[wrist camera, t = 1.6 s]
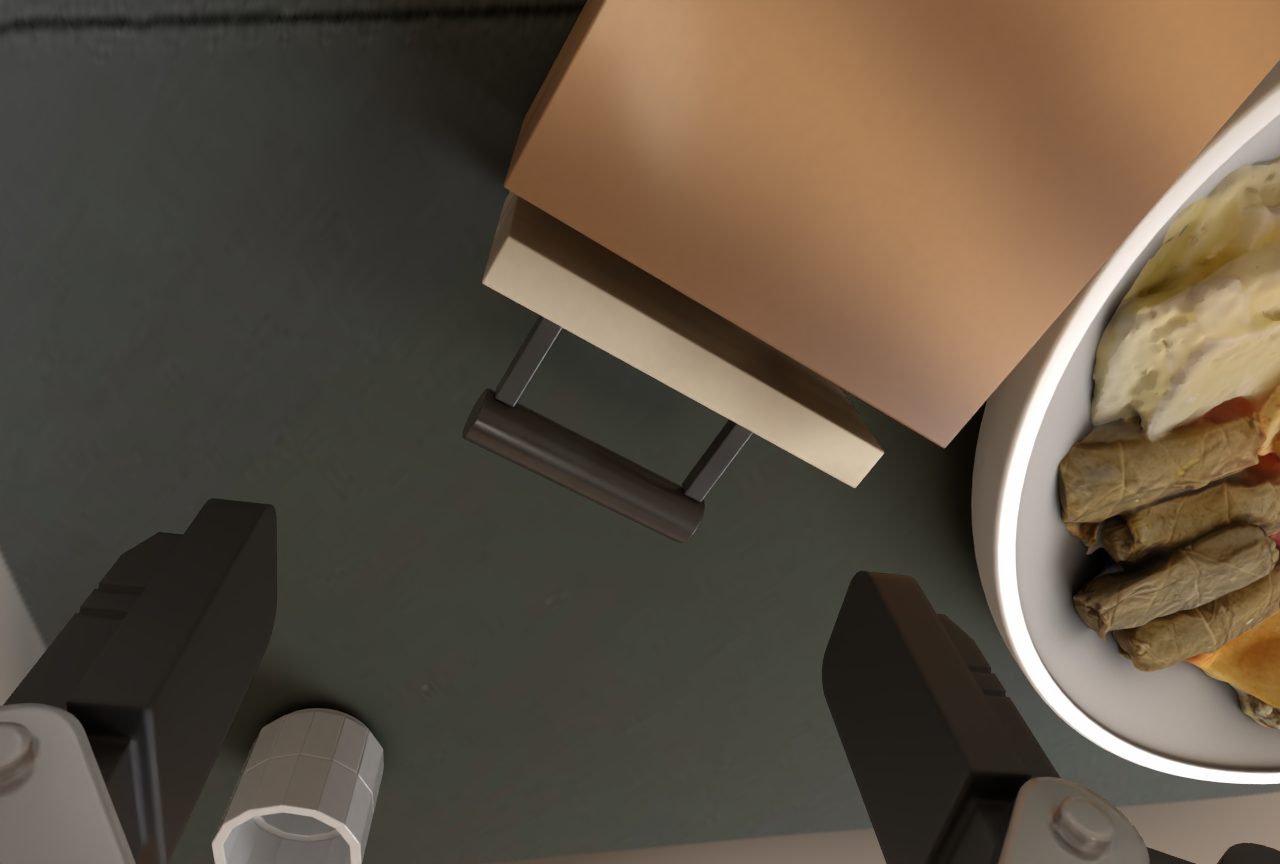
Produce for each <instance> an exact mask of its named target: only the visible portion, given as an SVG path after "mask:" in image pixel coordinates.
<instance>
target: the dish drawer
mask: <svg viewBox="0 0 1280 864" xmlns="http://www.w3.org/2000/svg"><path fill="white" fill-rule="evenodd" d="M482 283H483V284H484V285H486V286H488V287H490V288H492V289H493V290H495V291H497V292H499V293H501V294H503V295H504V296H506V297H508V298H510V299H512V300H513V301H515V302H517V303H519V304H521V305H523V306H524V307H526V308H528V309H530V310H532V311H533V312H535V313H537V314H539V315H540V316H539V318H538V319H537V321H536V323H535V324H534V326H533V328H532V329H531V331H530V333H529V334H528V336H527V338H526V339H525V341H524V343H523V344H522V346H521V348H520V349H519V351H518V353H517V354H516V356H515V358H514V359H513V361H512V363H511V364H510V366H509V368H508V369H507V371H506V373H505V374H504V376H503V378H502V379H501V381H500V383H499V384H498V386H497V388H496V392H495V391H493V390H491V389H486V390H485V391H484V392H483V393H482V394H481V396H480V397H479V399H478V400H477V402H476V404H475V406H474V407H473V409H472V411H471V413H470V415H469V417H468V420H467V422H466V424H465V427H464V430H463V434H462V437H463V438H464V439H466V440H468V441H470V442H472V443H474V444H476V445H478V446H480V447H482V448H484V449H486V450H488V451H490V452H492V453H494V454H496V455H499V456H501V457H503V458H505V459H507V460H509V461H511V462H513V463H515V464H517V465H519V466H521V467H523V468H525V469H527V470H529V471H532V472H534V473H536V474H538V475H540V476H542V477H544V478H546V479H548V480H550V481H552V482H554V483H556V484H558V485H560V486H562V487H565V488H567V489H569V490H571V491H573V492H575V493H577V494H579V495H581V496H583V497H585V498H587V499H589V500H591V501H593V502H596V503H598V504H600V505H602V506H604V507H606V508H608V509H610V510H612V511H614V512H616V513H618V514H620V515H622V516H624V517H626V518H629V519H631V520H633V521H635V522H637V523H639V524H641V525H643V526H645V527H647V528H649V529H651V530H653V531H655V532H657V533H659V534H662V535H664V536H666V537H668V538H670V539H672V540H674V541H676V542H678V543H684V542H686V541H687V540H688V539H690V538H691V537H692V535H693V534H694V533H695V531H696V530H697V528H698V526H699V524H700V522H701V520H702V517H703V514H704V508H705V503H704V498H705V496H706V495H707V494H708V492H709V491H710V490H711V488H712V487H713V486H714V484H715V483H716V482H717V480H718V479H719V478H720V476H721V475H722V474H723V472H724V471H725V470H726V468H727V467H728V466H729V464H730V463H731V462H732V460H733V459H734V458H735V456H736V455H737V454H738V452H739V451H740V450H741V448H742V447H743V446H744V444H745V443H746V442H747V440H748V439H749V438H750V436H751V435H752V434H753V433H755V434H757V435H759V436H760V437H762V438H764V439H766V440H768V441H770V442H771V443H773V444H775V445H777V446H779V447H780V448H782V449H784V450H786V451H788V452H790V453H791V454H793V455H795V456H797V457H799V458H800V459H802V460H804V461H806V462H808V463H809V464H811V465H813V466H815V467H817V468H819V469H820V470H822V471H824V472H826V473H828V474H829V475H831V476H833V477H835V478H837V479H839V480H840V481H842V482H844V483H846V484H848V485H849V486H851V487H853V488H856V487H857V485H858V484H859V483H860V482H861V481H862V479H863V478H864V477H865V476H866V475H867V473H868V472H869V471H870V470H871V469H872V467H873V466H874V465H875V464H876V463H877V461H878V460H879V459H880V458H881V457H882V455H883V454H884V451H883V450H882V448H881V447H880V445H879V444H878V443H877V441H876V440H875V438H874V437H873V435H872V434H871V433H870V431H869V430H868V428H867V427H866V425H865V424H864V423H863V421H862V420H861V418H860V417H859V415H858V414H857V413H856V411H855V410H854V408H853V407H852V405H851V404H850V403H849V401H848V400H847V398H846V397H845V395H844V394H843V393H842V391H841V390H840V388H839V387H838V385H836V384H834V383H833V382H831V381H829V380H828V379H826V378H824V377H822V376H821V375H819V374H817V373H816V372H814V371H812V370H811V369H809V368H807V367H806V366H804V365H802V364H801V363H799V362H797V361H796V360H794V359H792V358H791V357H789V356H787V355H785V354H784V353H782V352H780V351H779V350H777V349H775V348H774V347H772V346H770V345H769V344H767V343H765V342H764V341H762V340H760V339H759V338H757V337H755V336H754V335H752V334H750V333H748V332H747V331H745V330H743V329H742V328H740V327H738V326H737V325H735V324H733V323H732V322H730V321H728V320H727V319H725V318H723V317H722V316H720V315H718V314H716V313H715V312H713V311H711V310H710V309H708V308H706V307H705V306H703V305H701V304H700V303H698V302H696V301H695V300H693V299H691V298H690V297H688V296H686V295H685V294H683V293H681V292H679V291H678V290H676V289H674V288H673V287H671V286H669V285H668V284H666V283H664V282H663V281H661V280H659V279H658V278H656V277H654V276H653V275H651V274H649V273H648V272H646V271H644V270H642V269H641V268H639V267H637V266H636V265H634V264H632V263H631V262H629V261H627V260H626V259H624V258H622V257H621V256H619V255H617V254H616V253H614V252H612V251H610V250H609V249H607V248H605V247H604V246H602V245H600V244H599V243H597V242H595V241H594V240H592V239H590V238H589V237H587V236H585V235H584V234H582V233H580V232H579V231H577V230H575V229H573V228H572V227H570V226H568V225H567V224H565V223H563V222H562V221H560V220H558V219H557V218H555V217H553V216H552V215H550V214H548V213H547V212H545V211H543V210H542V209H540V208H538V207H536V206H535V205H533V204H531V203H530V202H528V201H526V200H525V199H523V198H521V197H520V196H518V195H516V194H515V193H513V192H511V191H510V192H509V194H508V196H507V198H506V200H505V201H504V205H503V208H502V212H501V215H500V219H499V223H498V226H497V230H496V233H495V237H494V241H493V244H492V248H491V251H490V255H489V259H488V262H487V266H486V269H485V273H484V276H483V280H482ZM563 328H564V329H566V330H568V331H570V332H572V333H573V334H575V335H577V336H579V337H581V338H582V339H584V340H586V341H588V342H590V343H592V344H593V345H595V346H597V347H599V348H601V349H602V350H604V351H606V352H608V353H610V354H612V355H613V356H615V357H617V358H619V359H621V360H622V361H624V362H626V363H628V364H630V365H631V366H633V367H635V368H637V369H639V370H641V371H642V372H644V373H646V374H648V375H650V376H651V377H653V378H655V379H657V380H659V381H661V382H662V383H664V384H666V385H668V386H670V387H671V388H673V389H675V390H677V391H679V392H681V393H682V394H684V395H686V396H688V397H690V398H691V399H693V400H695V401H697V402H699V403H701V404H702V405H704V406H706V407H708V408H710V409H711V410H713V411H715V412H717V413H719V414H720V415H722V416H724V417H726V418H728V419H729V420H728V422H727V423H726V424H725V426H724V427H723V429H722V430H721V431H720V433H719V434H718V435H717V437H716V438H715V440H714V441H713V442H712V444H711V445H710V446H709V448H708V449H707V450H706V452H705V453H704V455H703V456H702V457H701V459H700V460H699V461H698V463H697V464H696V465H695V467H694V468H693V470H692V471H691V472H690V474H689V475H688V476H687V478H686V479H685V480H684V482H683V483H682V486H680V485H678V484H676V483H674V482H672V481H670V480H668V479H666V478H664V477H662V476H660V475H658V474H656V473H654V472H652V471H650V470H648V469H646V468H644V467H642V466H640V465H638V464H636V463H634V462H632V461H631V460H629V459H627V458H625V457H623V456H621V455H619V454H617V453H615V452H613V451H611V450H609V449H607V448H605V447H603V446H601V445H599V444H597V443H595V442H593V441H591V440H589V439H587V438H585V437H583V436H581V435H580V434H578V433H576V432H574V431H572V430H570V429H568V428H566V427H564V426H562V425H560V424H558V423H556V422H554V421H552V420H550V419H548V418H546V417H544V416H542V415H540V414H538V413H536V412H534V411H532V410H530V409H529V408H527V407H525V406H523V405H521V404H519V403H517V402H518V401H519V399H520V397H521V396H522V394H523V393H524V391H525V389H526V388H527V386H528V384H529V383H530V381H531V380H532V378H533V376H534V375H535V373H536V371H537V370H538V368H539V366H540V365H541V363H542V362H543V360H544V358H545V357H546V355H547V353H548V352H549V350H550V349H551V347H552V345H553V344H554V342H555V340H556V339H557V337H558V336H559V334H560V332H561V331H562V329H563Z"/></svg>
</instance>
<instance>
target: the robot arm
mask: <svg viewBox="0 0 1280 864" xmlns="http://www.w3.org/2000/svg"><path fill="white" fill-rule="evenodd" d="M276 606H277V522H276V512H275V508H274V506H273V505H270V504H261V503H251V502H242V501H233V500H224V499H215V498H212V499H209V500H208V501H207V502H206V503H205V505H204V506H203V508H202V509H201V510H200V512H199V513H198V515H197V516H196V517H195V519H194V520H193V522H192V523H191V525H190V526H189V527H188V529H187V530H186V532H185V533H184V534H183V535H182V534H172V533H162V532H158V533H157V534H155V535H153V536H152V537H150V538H149V539H147V540H145V541H144V542H142V543H140V544H139V545H137V546H135V547H134V548H132V549H130V550H129V551H127V552H126V553H124V554H122V555H121V556H120V558H119V559H118V560H117V562H116V563H115V564H114V565H113V567H112V568H111V569H110V570H109V572H108V573H107V574H106V575H105V577H104V578H103V579H102V581H101V582H100V583H99V588H98V589H94V591H93V592H92V593H91V594H90V596H89V597H88V598H87V600H86V601H85V602H84V603H83V605H82V606H81V607H80V612H79V614H76V613H75V615H74V616H73V617H72V619H71V620H70V621H69V622H68V624H67V625H66V626H65V627H64V629H63V630H62V631H61V632H60V634H59V635H58V636H57V638H56V639H55V640H54V641H53V643H52V644H51V645H50V646H49V648H48V649H47V650H46V651H45V653H44V654H43V655H42V657H41V658H40V659H39V660H38V662H37V663H36V664H35V665H34V667H33V668H32V669H31V670H30V672H29V673H28V674H27V676H26V677H25V678H24V679H23V681H22V682H21V683H20V685H19V686H18V687H17V688H16V690H15V691H14V692H13V693H12V695H11V696H10V697H9V698H8V700H7V701H6V702H5V704H4V705H3V706H0V864H168V863H169V861H170V859H171V857H172V855H173V852H174V850H175V848H176V846H177V844H178V841H179V839H180V837H181V835H182V833H183V830H184V828H185V826H186V824H187V822H188V819H189V817H190V815H191V813H192V811H193V809H194V806H195V804H196V802H197V800H198V798H199V795H200V793H201V791H202V789H203V787H204V784H205V782H206V780H207V778H208V776H209V773H210V771H211V769H212V767H213V765H214V762H215V760H216V758H217V756H218V754H219V751H220V749H221V747H222V745H223V743H224V740H225V738H226V736H227V734H228V732H229V730H230V727H231V725H232V723H233V721H234V719H235V716H236V714H237V712H238V710H239V708H240V705H241V703H242V701H243V699H244V697H245V694H246V692H247V690H248V688H249V686H250V683H251V681H252V679H253V677H254V675H255V672H256V670H257V668H258V666H259V664H260V662H261V659H262V657H263V655H264V653H265V651H266V648H267V646H268V643H269V640H270V637H271V634H272V630H273V625H274V620H275V614H276ZM822 684H823V690H824V695H825V698H826V701H827V704H828V706H829V709H830V712H831V714H832V717H833V720H834V723H835V725H836V728H837V731H838V733H839V736H840V739H841V741H842V744H843V747H844V750H845V752H846V755H847V758H848V760H849V763H850V766H851V769H852V771H853V774H854V777H855V779H856V782H857V785H858V787H859V790H860V793H861V796H862V798H863V801H864V804H865V806H866V809H867V812H868V815H869V817H870V820H871V823H872V825H873V828H874V831H875V833H876V836H877V839H878V842H879V844H880V847H881V850H882V852H883V855H884V857H885V861H886V863H887V864H1195V863H1192V862H1189V861H1186V860H1183V859H1180V858H1177V857H1174V856H1171V855H1168V854H1165V853H1163V852H1160V851H1157V850H1154V849H1150V848H1148V847H1146V845H1145V843H1144V841H1143V839H1142V837H1141V836H1140V834H1139V833H1138V831H1137V830H1136V828H1135V827H1134V826H1133V825H1132V823H1131V822H1130V821H1129V820H1128V819H1127V818H1126V817H1125V816H1124V815H1123V814H1122V813H1121V812H1120V811H1119V810H1118V809H1117V808H1116V807H1115V806H1113V805H1112V804H1111V803H1110V802H1108V801H1107V800H1106V799H1104V798H1103V797H1101V796H1100V795H1098V794H1097V793H1095V792H1093V791H1091V790H1090V789H1088V788H1086V787H1084V786H1081V785H1079V784H1077V783H1074V782H1071V781H1069V780H1065V779H1061V778H1060V777H1059V775H1058V773H1057V772H1056V770H1055V769H1054V767H1053V765H1052V764H1051V762H1050V761H1049V759H1048V758H1047V756H1046V754H1045V753H1044V751H1043V750H1042V748H1041V746H1040V745H1039V743H1038V742H1037V740H1036V739H1035V737H1034V735H1033V734H1032V732H1031V731H1030V729H1029V727H1028V726H1027V724H1026V723H1025V721H1024V720H1023V718H1022V716H1021V715H1020V713H1019V712H1018V710H1017V708H1016V707H1015V705H1014V704H1013V702H1012V701H1011V699H1010V698H1009V697H1006V696H1005V693H1006V691H1005V689H1004V688H1003V686H1002V685H1001V683H1000V682H999V680H998V678H997V677H996V675H995V674H991V667H990V666H989V664H988V662H987V661H986V659H985V658H984V656H983V655H982V653H981V651H980V650H979V648H978V647H977V645H976V643H975V642H974V640H973V639H971V638H970V637H969V636H968V635H967V634H966V633H965V632H964V631H963V630H961V629H960V628H959V627H958V626H957V625H956V624H955V623H954V622H953V621H951V620H950V619H949V618H948V617H947V616H946V615H944V614H936V613H935V611H934V609H933V608H932V606H931V604H930V603H929V601H928V599H927V598H926V596H925V594H924V593H923V591H922V589H921V588H920V586H919V584H918V583H917V581H916V580H915V579H914V578H913V577H911V576H904V575H895V574H886V573H876V572H867V571H860V572H858V573H856V574H855V576H854V577H853V579H852V580H851V583H850V585H849V588H848V590H847V593H846V596H845V599H844V601H843V604H842V607H841V610H840V612H839V615H838V618H837V621H836V623H835V626H834V629H833V632H832V634H831V637H830V640H829V643H828V645H827V648H826V651H825V654H824V659H823V666H822ZM1217 864H1280V851H1278V850H1275V849H1273V848H1270V847H1266V846H1263V845H1258V844H1253V843H1241V844H1236V845H1234V846H1232V847H1230V848H1229V849H1228V850H1227V851H1226V852H1225V854H1224V855H1223V856H1222V858H1221V859H1220V860H1219V862H1218V863H1217Z"/></svg>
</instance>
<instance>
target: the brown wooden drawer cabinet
mask: <svg viewBox="0 0 1280 864" xmlns="http://www.w3.org/2000/svg"><path fill="white" fill-rule="evenodd" d="M1279 60H1280V0H587V2H586V4H585V6H584V7H583V9H582V11H581V13H580V15H579V17H578V19H577V20H576V22H575V24H574V26H573V28H572V30H571V32H570V33H569V35H568V37H567V39H566V41H565V43H564V45H563V47H562V48H561V50H560V52H559V54H558V56H557V58H556V60H555V61H554V63H553V65H552V67H551V69H550V71H549V73H548V74H547V76H546V78H545V80H544V82H543V84H542V86H541V88H540V89H539V91H538V93H537V95H536V97H535V99H534V101H533V102H532V104H531V106H530V108H529V110H528V112H527V114H526V115H525V117H524V120H523V124H522V127H521V130H520V134H519V137H518V140H517V143H516V147H515V150H514V153H513V157H512V160H511V163H510V166H509V170H508V173H507V176H506V178H505V181H504V187H505V188H506V189H508V190H510V191H511V192H513V193H515V194H516V195H518V196H520V197H521V198H523V199H525V200H526V201H528V202H530V203H531V204H533V205H535V206H536V207H538V208H540V209H542V210H543V211H545V212H547V213H548V214H550V215H552V216H553V217H555V218H557V219H558V220H560V221H562V222H563V223H565V224H567V225H568V226H570V227H572V228H573V229H575V230H577V231H579V232H580V233H582V234H584V235H585V236H587V237H589V238H590V239H592V240H594V241H595V242H597V243H599V244H600V245H602V246H604V247H605V248H607V249H609V250H610V251H612V252H614V253H616V254H617V255H619V256H621V257H622V258H624V259H626V260H627V261H629V262H631V263H632V264H634V265H636V266H637V267H639V268H641V269H642V270H644V271H646V272H648V273H649V274H651V275H653V276H654V277H656V278H658V279H659V280H661V281H663V282H664V283H666V284H668V285H669V286H671V287H673V288H674V289H676V290H678V291H679V292H681V293H683V294H685V295H686V296H688V297H690V298H691V299H693V300H695V301H696V302H698V303H700V304H701V305H703V306H705V307H706V308H708V309H710V310H711V311H713V312H715V313H716V314H718V315H720V316H722V317H723V318H725V319H727V320H728V321H730V322H732V323H733V324H735V325H737V326H738V327H740V328H742V329H743V330H745V331H747V332H748V333H750V334H752V335H754V336H755V337H757V338H759V339H760V340H762V341H764V342H765V343H767V344H769V345H770V346H772V347H774V348H775V349H777V350H779V351H780V352H782V353H784V354H785V355H787V356H789V357H791V358H792V359H794V360H796V361H797V362H799V363H801V364H802V365H804V366H806V367H807V368H809V369H811V370H812V371H814V372H816V373H817V374H819V375H821V376H822V377H824V378H826V379H828V380H829V381H831V382H833V383H834V384H836V385H838V386H839V387H841V388H843V389H844V390H846V391H848V392H849V393H851V394H853V395H854V396H856V397H858V398H860V399H861V400H863V401H865V402H866V403H868V404H870V405H871V406H873V407H875V408H876V409H878V410H880V411H881V412H883V413H885V414H886V415H888V416H890V417H891V418H893V419H895V420H897V421H898V422H900V423H902V424H903V425H905V426H907V427H908V428H910V429H912V430H913V431H915V432H917V433H918V434H920V435H922V436H923V437H925V438H927V439H928V440H930V441H932V442H934V443H935V444H937V445H939V446H940V447H942V448H946V447H947V446H948V444H949V443H950V442H951V441H952V440H953V439H954V437H955V436H956V435H957V434H958V433H959V432H960V430H961V429H962V428H963V427H964V426H965V425H966V423H967V422H968V421H969V420H970V419H971V418H972V416H973V415H974V414H975V413H976V412H977V411H978V410H979V408H980V407H981V406H982V405H983V404H984V403H985V401H986V400H987V399H988V398H989V397H990V396H991V394H992V393H993V392H994V391H995V390H996V389H997V387H998V386H999V385H1000V384H1001V383H1002V382H1003V381H1004V379H1005V378H1006V377H1007V376H1008V375H1009V374H1010V372H1011V371H1012V370H1013V369H1014V368H1015V367H1016V365H1017V364H1018V363H1019V362H1020V361H1021V360H1022V358H1023V357H1024V356H1025V355H1026V354H1027V353H1028V351H1029V350H1030V349H1031V348H1032V347H1033V346H1034V345H1035V343H1036V342H1037V341H1038V340H1039V339H1040V338H1041V336H1042V335H1043V334H1044V333H1045V332H1046V331H1047V329H1048V328H1049V327H1050V326H1051V325H1052V324H1053V322H1054V321H1055V320H1056V319H1057V318H1058V317H1059V315H1060V314H1061V313H1062V312H1063V311H1064V310H1065V309H1066V307H1067V306H1068V305H1069V304H1070V303H1071V302H1072V300H1073V299H1074V298H1075V297H1076V296H1077V295H1078V293H1079V292H1080V291H1081V290H1082V289H1083V288H1084V286H1085V285H1086V284H1087V283H1088V282H1089V281H1090V280H1091V278H1092V277H1093V276H1094V275H1095V274H1096V273H1097V271H1098V270H1099V269H1100V268H1101V267H1102V266H1103V264H1104V263H1105V262H1106V261H1107V260H1108V259H1109V257H1110V256H1111V255H1112V254H1113V253H1114V252H1115V250H1116V249H1117V248H1118V247H1119V246H1120V245H1121V244H1122V242H1123V241H1124V240H1125V239H1126V238H1127V237H1128V235H1129V234H1130V233H1131V232H1132V231H1133V230H1134V228H1135V227H1136V226H1137V225H1138V224H1139V223H1140V221H1141V220H1142V219H1143V218H1144V217H1145V216H1146V215H1147V213H1148V212H1149V211H1150V210H1151V209H1152V208H1153V206H1154V205H1155V204H1156V203H1157V202H1158V201H1159V199H1160V198H1161V197H1162V196H1163V195H1164V194H1165V192H1166V191H1167V190H1168V189H1169V188H1170V187H1171V185H1172V184H1173V183H1174V182H1175V181H1176V180H1177V179H1178V177H1179V176H1180V175H1181V174H1182V173H1183V172H1184V170H1185V169H1186V168H1187V167H1188V166H1189V165H1190V163H1191V162H1192V161H1193V160H1194V159H1195V158H1196V156H1197V155H1198V154H1199V153H1200V152H1201V151H1202V150H1203V148H1204V147H1205V146H1206V145H1207V144H1208V143H1209V141H1210V140H1211V139H1212V138H1213V137H1214V136H1215V134H1216V133H1217V132H1218V131H1219V130H1220V129H1221V127H1222V126H1223V125H1224V124H1225V123H1226V122H1227V120H1228V119H1229V118H1230V117H1231V116H1232V115H1233V114H1234V112H1235V111H1236V110H1237V109H1238V108H1239V107H1240V105H1241V104H1242V103H1243V102H1244V101H1245V100H1246V98H1247V97H1248V96H1249V95H1250V94H1251V93H1252V91H1253V90H1254V89H1255V88H1256V87H1257V86H1258V84H1259V83H1260V82H1261V81H1262V80H1263V79H1264V78H1265V76H1266V75H1267V74H1268V73H1269V72H1270V71H1271V69H1272V68H1273V67H1274V66H1275V65H1276V64H1277V62H1278V61H1279Z"/></svg>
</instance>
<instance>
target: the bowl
mask: <svg viewBox="0 0 1280 864" xmlns="http://www.w3.org/2000/svg"><path fill="white" fill-rule="evenodd" d="M971 509H972V531H973V539H974V548H975V556H976V561H977V566H978V571H979V576H980V580H981V583H982V587H983V590H984V593H985V597H986V600H987V604H988V606H989V609H990V611H991V614H992V616H993V619H994V621H995V623H996V626H997V628H998V630H999V632H1000V634H1001V636H1002V638H1003V640H1004V642H1005V644H1006V646H1007V648H1008V649H1009V651H1010V653H1011V654H1012V656H1013V658H1014V659H1015V661H1016V662H1017V664H1018V665H1019V667H1020V669H1021V670H1022V672H1023V673H1024V675H1025V676H1026V678H1027V679H1028V681H1029V682H1030V683H1031V685H1032V686H1033V688H1034V689H1035V690H1036V691H1037V693H1038V694H1039V695H1040V697H1041V698H1042V699H1043V700H1044V701H1045V703H1046V704H1047V705H1048V706H1049V707H1050V708H1051V709H1052V710H1053V711H1054V712H1055V713H1056V714H1057V715H1058V716H1059V717H1060V718H1061V719H1062V720H1064V721H1065V722H1066V723H1067V724H1068V725H1069V726H1070V727H1072V728H1073V729H1074V730H1076V731H1077V732H1078V733H1080V734H1081V735H1083V736H1084V737H1085V738H1087V739H1088V740H1090V741H1092V742H1093V743H1095V744H1097V745H1098V746H1100V747H1102V748H1103V749H1105V750H1107V751H1109V752H1111V753H1113V754H1115V755H1117V756H1119V757H1121V758H1124V759H1126V760H1129V761H1131V762H1134V763H1136V764H1138V765H1141V766H1144V767H1148V768H1151V769H1154V770H1157V771H1160V772H1164V773H1168V774H1172V775H1176V776H1181V777H1187V778H1192V779H1198V780H1206V781H1214V782H1224V783H1239V784H1277V783H1280V60H1279V61H1278V62H1277V64H1276V65H1275V66H1274V67H1273V68H1272V69H1271V71H1270V72H1269V73H1268V74H1267V75H1266V76H1265V78H1264V79H1263V80H1262V81H1261V82H1260V83H1259V84H1258V86H1257V87H1256V88H1255V89H1254V90H1253V91H1252V93H1251V94H1250V95H1249V96H1248V97H1247V98H1246V100H1245V101H1244V102H1243V103H1242V104H1241V105H1240V107H1239V108H1238V109H1237V110H1236V111H1235V112H1234V114H1233V115H1232V116H1231V117H1230V118H1229V119H1228V120H1227V122H1226V123H1225V124H1224V125H1223V126H1222V127H1221V129H1220V130H1219V131H1218V132H1217V133H1216V134H1215V136H1214V137H1213V138H1212V139H1211V140H1210V141H1209V143H1208V144H1207V145H1206V146H1205V147H1204V148H1203V150H1202V151H1201V152H1200V153H1199V154H1198V155H1197V156H1196V158H1195V159H1194V160H1193V161H1192V162H1191V163H1190V165H1189V166H1188V167H1187V168H1186V169H1185V170H1184V172H1183V173H1182V174H1181V175H1180V176H1179V177H1178V179H1177V180H1176V181H1175V182H1174V183H1173V184H1172V185H1171V187H1170V188H1169V189H1168V190H1167V191H1166V192H1165V194H1164V195H1163V196H1162V197H1161V198H1160V199H1159V201H1158V202H1157V203H1156V204H1155V205H1154V206H1153V208H1152V209H1151V210H1150V211H1149V212H1148V213H1147V215H1146V216H1145V217H1144V218H1143V219H1142V220H1141V221H1140V223H1139V224H1138V225H1137V226H1136V227H1135V228H1134V230H1133V231H1132V232H1131V233H1130V234H1129V235H1128V237H1127V238H1126V239H1125V240H1124V241H1123V242H1122V244H1121V245H1120V246H1119V247H1118V248H1117V249H1116V250H1115V252H1114V253H1113V254H1112V255H1111V256H1110V257H1109V259H1108V260H1107V261H1106V262H1105V263H1104V264H1103V266H1102V267H1101V268H1100V269H1099V270H1098V271H1097V273H1096V274H1095V275H1094V276H1093V277H1092V278H1091V280H1090V281H1089V282H1088V283H1087V284H1086V285H1085V286H1084V288H1083V289H1082V290H1081V291H1080V292H1079V293H1078V295H1077V296H1076V297H1075V298H1074V299H1073V300H1072V302H1071V303H1070V304H1069V305H1068V306H1067V307H1066V309H1065V310H1064V311H1063V312H1062V313H1061V314H1060V315H1059V317H1058V318H1057V319H1056V320H1055V321H1054V322H1053V324H1052V325H1051V326H1050V327H1049V328H1048V329H1047V331H1046V332H1045V333H1044V334H1043V335H1042V336H1041V338H1040V339H1039V340H1038V341H1037V342H1036V343H1035V345H1034V346H1033V347H1032V348H1031V349H1030V350H1029V351H1028V353H1027V354H1026V355H1025V356H1024V357H1023V358H1022V360H1021V361H1020V362H1019V363H1018V364H1017V365H1016V367H1015V368H1014V369H1013V370H1012V371H1011V372H1010V374H1009V375H1008V376H1007V377H1006V378H1005V379H1004V381H1003V382H1002V383H1001V384H1000V385H999V386H998V387H997V389H996V390H995V391H994V392H993V393H992V394H991V396H990V397H989V398H988V399H987V403H986V407H985V411H984V414H983V418H982V422H981V426H980V431H979V436H978V441H977V447H976V452H975V461H974V469H973V480H972V502H971Z"/></svg>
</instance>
